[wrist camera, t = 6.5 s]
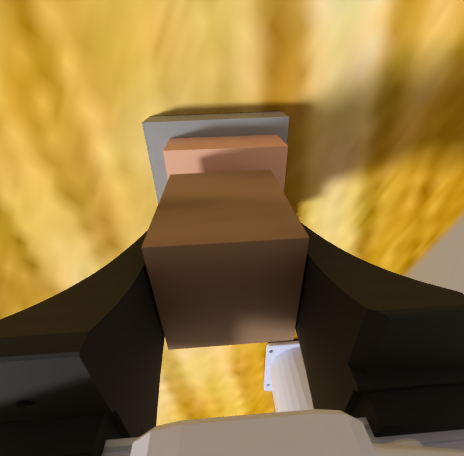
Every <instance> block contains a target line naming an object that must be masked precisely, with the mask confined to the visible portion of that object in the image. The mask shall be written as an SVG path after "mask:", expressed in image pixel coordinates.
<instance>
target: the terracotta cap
mask: <svg viewBox="0 0 464 456" xmlns="http://www.w3.org/2000/svg"><path fill="white" fill-rule="evenodd" d="M163 154H164V160H165V166H166V172H167V179H169V177H170V174H190V173H210V172H230V171H250V170H270V169H271V171H272V173H273V175H274V176H275V178H276V180H277V182H278V183H279V185H280V187H281V189H282V190H283V192H284V184H285V174H286V164H287V154H288V145H287V144H286V143H285V142H284V141H283V140H282V139H281V138H280V137H279V136H278V135H248V136H220V137H191V138H170V139H169V141H168V143H167V145H166V146H165V148H164V150H163Z"/></svg>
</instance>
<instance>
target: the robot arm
mask: <svg viewBox="0 0 464 456" xmlns="http://www.w3.org/2000/svg"><path fill="white" fill-rule="evenodd" d="M301 224H302V223H301ZM302 226H303V227H304V229H305V231H306V233H307V234H308V236H309V243H308V250H307V256H306V262H305V269H304V275H303V281H302V288H301V294H300V300H299V307H298V313H297V319H296V325H295V328H296V332H297V336H298V340H299V341H289V342H276V343H269V344H267V346H266V359H265V373H264V386H263V387H264V390H265V391H272V393H273V398H274V403H275V409H276V413H264V414H252V415H241V416H229V417H218V418H206V419H194V420H183V421H178V422H173V423H169V424H164V425H159V426H156V419H157V406H158V395H159V383H160V373H161V364H162V354H163V346H164V337H165V335H164V331H163V327H162V324H161V320H160V316H159V312H158V309H157V305H156V301H155V298H154V294H153V290H152V286H151V283H150V279H149V275H148V271H147V268H146V264H145V260H144V257H143V253H142V249H141V247H142V244H143V242H144V239H145V237H146V234H147V232H148V231H147V232H145V233H144V234H143V235H142V236H141V237H140V238H139V239H138V240H137V241H136V242H135V243H134V244H132V245H131V246H130V247H129V248H128V249H126V250H125V251H124V252H123V253H122V254H120V255H119V256H118V257H117V258H115V259H114V260H113V261H111V262H110V263H109V264H107V265H106V266H104V267H103V268H101V269H100V270H99V271H97V272H96V273H94V274H92V275H91V276H89V277H87V278H86V279H84V280H82V281H81V282H79V283H77V284H75V285H74V286H72V287H70V288H68V289H67V290H65V291H63V292H61V293H59V294H57V295H55V296H53V297H51V298H49V299H47V300H45V301H43V302H40V303H38V304H36V305H34V306H32V307H29V308H27V309H25V310H22V311H20V312H18V313H15V314H13V315H10V316H8V317H5V318H3V319H1V320H0V456H464V294H462V293H460V292H457V291H453V290H450V289H446V288H442V287H439V286H435V285H431V284H427V283H424V282H420V281H417V280H414V279H411V278H408V277H405V276H402V275H399V274H396V273H393V272H391V271H388V270H385V269H383V268H380V267H378V266H375V265H373V264H370V263H368V262H366V261H364V260H361V259H359V258H357V257H355V256H353V255H351V254H349V253H347V252H345V251H343V250H342V249H340V248H338V247H336V246H335V245H333V244H331V243H330V242H328V241H326V240H325V239H323V238H322V237H320V236H319V235H317V234H316V233H314V232H313V231H311V230H310V229H309V228H307V227H306V226H305V225H303V224H302Z"/></svg>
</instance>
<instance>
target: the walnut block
mask: <svg viewBox="0 0 464 456" xmlns="http://www.w3.org/2000/svg"><path fill="white" fill-rule="evenodd" d="M308 243H309V236H308V234H307V233H306V231H305V229H304V227H303V226H302V224H301V222H300V220H299V219H298V217H297V215H296V213H295V211H294V210H293V208H292V206H291V204H290V203H289V201H288V199H287V197H286V196H285V194H284V192H283V190H282V189H281V187H280V185H279V183H278V182H277V180H276V178H275V176H274V175H273V173H272V171H271V169H270V170H250V171H230V172H210V173H190V174H170V177H169V179H168V182H167V184H166V187H165V189H164V192H163V194H162V197H161V199H160V202H159V204H158V207H157V209H156V212H155V214H154V217H153V219H152V222H151V224H150V227H149V229H148V232H147V234H146V237H145V239H144V242H143V244H142V247H141V249H142V253H143V257H144V260H145V264H146V268H147V271H148V275H149V279H150V283H151V286H152V290H153V294H154V298H155V301H156V305H157V309H158V312H159V316H160V320H161V324H162V327H163V331H164V335H165V338H166V342H167V346H168V350H169V349H182V348H196V347H209V346H222V345H235V344H248V343H262V342H275V341H288V340H293V338H294V332H295V325H296V319H297V313H298V307H299V300H300V294H301V288H302V281H303V275H304V269H305V262H306V256H307V250H308Z"/></svg>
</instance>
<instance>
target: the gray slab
mask: <svg viewBox="0 0 464 456" xmlns="http://www.w3.org/2000/svg"><path fill="white" fill-rule="evenodd" d="M142 124H143V129H144V134H145V139H146V144H147V149H148V154H149V159H150V164H151V169H152V174H153V179H154V184H155V189H156V194H157V199H158V204H159V202H160V199H161V197H162V194H163V192H164V189H165V187H166V184H167V182H168V179H167V172H166V166H165V160H164V154H163V150H164V148H165V146H166V145H167V143H168V141H169V139H170V138H191V137H220V136H248V135H278V136H279V137H280V138H281V139H282V140H283V141H284V142H285V143H286V144H287V141H288V129H289V116H288V115H286V114H285V113H283V112H282V111H274V112H249V113H224V114H200V115H175V116H150V117H149V118H147V119H146V120H145V121H144V122H142Z"/></svg>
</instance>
